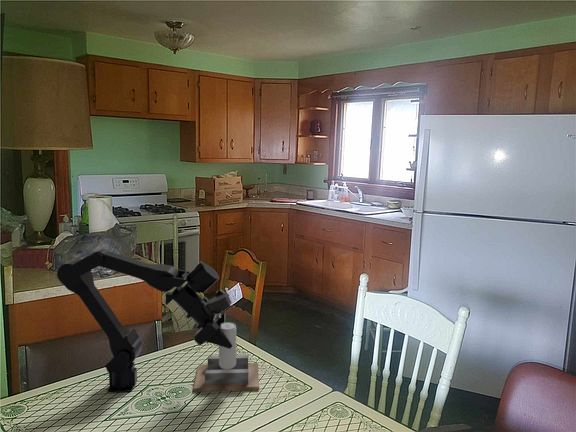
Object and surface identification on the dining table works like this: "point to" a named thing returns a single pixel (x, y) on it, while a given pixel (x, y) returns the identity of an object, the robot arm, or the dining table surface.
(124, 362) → the robot arm
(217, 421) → the dining table surface
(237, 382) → the vise
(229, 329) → the beverage can
